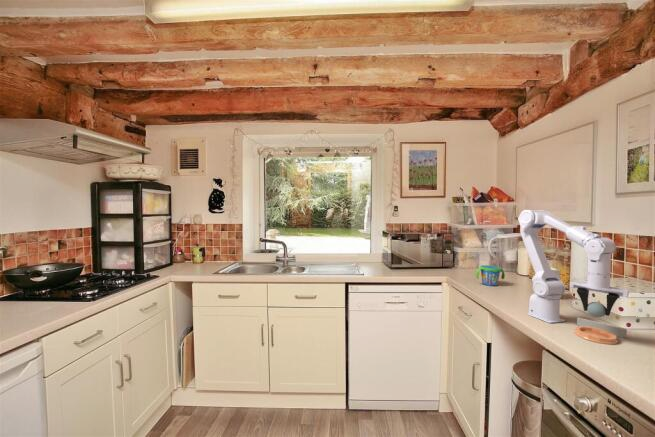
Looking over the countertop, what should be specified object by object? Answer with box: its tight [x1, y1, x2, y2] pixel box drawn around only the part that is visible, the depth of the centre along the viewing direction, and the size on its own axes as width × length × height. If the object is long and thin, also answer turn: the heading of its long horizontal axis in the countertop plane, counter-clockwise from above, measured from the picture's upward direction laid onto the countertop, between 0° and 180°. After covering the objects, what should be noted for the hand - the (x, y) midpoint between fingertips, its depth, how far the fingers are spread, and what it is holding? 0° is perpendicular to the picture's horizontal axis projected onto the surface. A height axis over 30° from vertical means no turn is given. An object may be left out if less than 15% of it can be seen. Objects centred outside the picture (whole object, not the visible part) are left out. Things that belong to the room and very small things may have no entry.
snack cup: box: [475, 264, 506, 287], centre depth 167 cm, size 16×10×10 cm
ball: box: [587, 301, 607, 318], centre depth 99 cm, size 5×5×5 cm
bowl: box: [573, 326, 619, 345], centre depth 100 cm, size 11×11×2 cm
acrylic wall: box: [576, 317, 628, 339], centre depth 105 cm, size 13×1×3 cm, turn 37°
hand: (596, 312), depth 99 cm, fingers closed on ball, 5 cm apart
